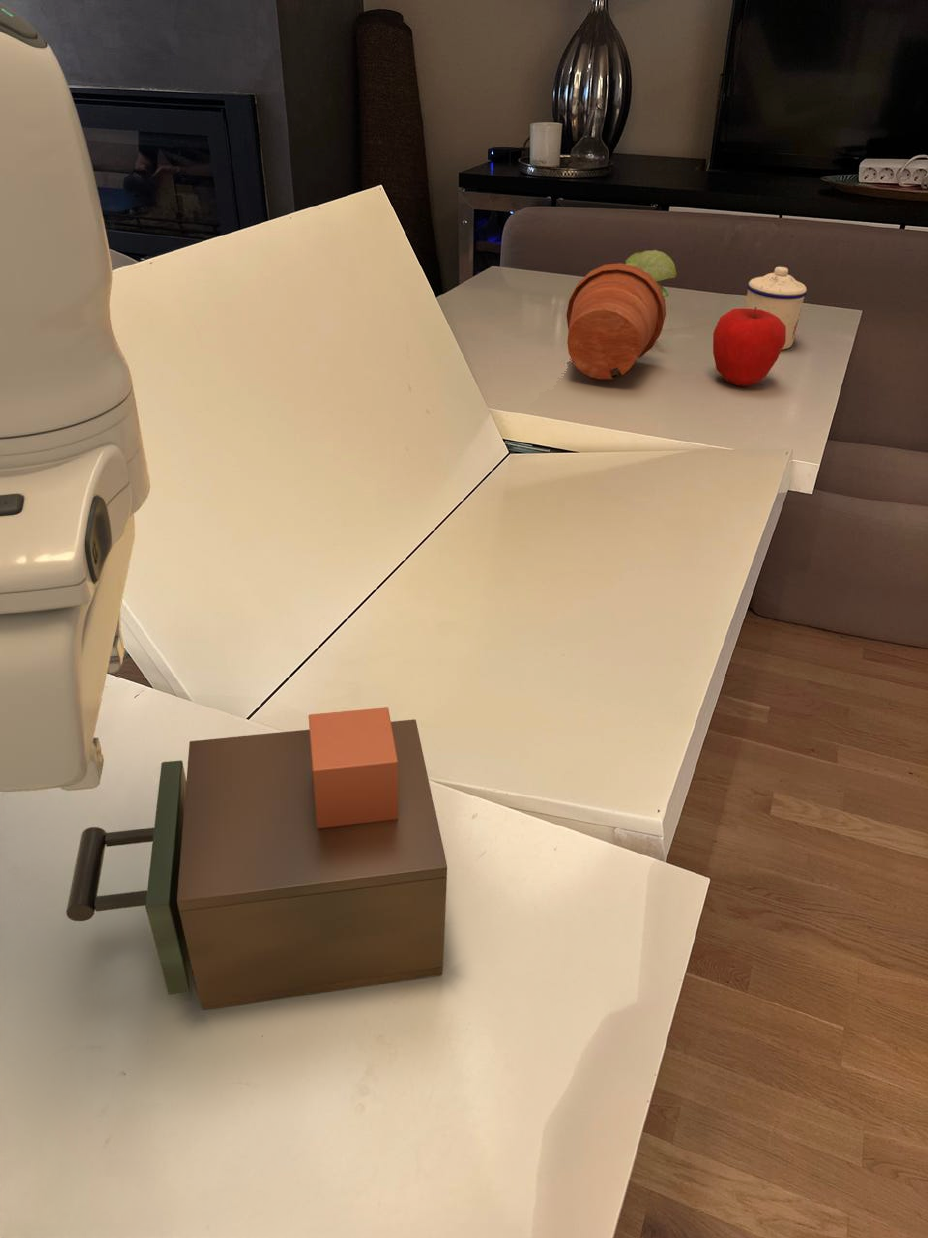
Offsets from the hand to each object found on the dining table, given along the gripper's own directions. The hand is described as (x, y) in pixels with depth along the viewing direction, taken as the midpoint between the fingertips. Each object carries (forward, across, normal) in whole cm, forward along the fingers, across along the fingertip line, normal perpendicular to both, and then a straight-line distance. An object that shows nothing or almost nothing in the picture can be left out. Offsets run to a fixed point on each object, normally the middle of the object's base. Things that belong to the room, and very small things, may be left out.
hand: (96, 718), depth 45 cm
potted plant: (+17, -97, +61) cm, 116 cm away
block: (+7, 0, +12) cm, 14 cm away
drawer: (+16, 0, +6) cm, 17 cm away
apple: (+17, -82, +76) cm, 113 cm away
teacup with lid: (+17, -100, +88) cm, 134 cm away
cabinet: (+17, 0, +10) cm, 20 cm away
